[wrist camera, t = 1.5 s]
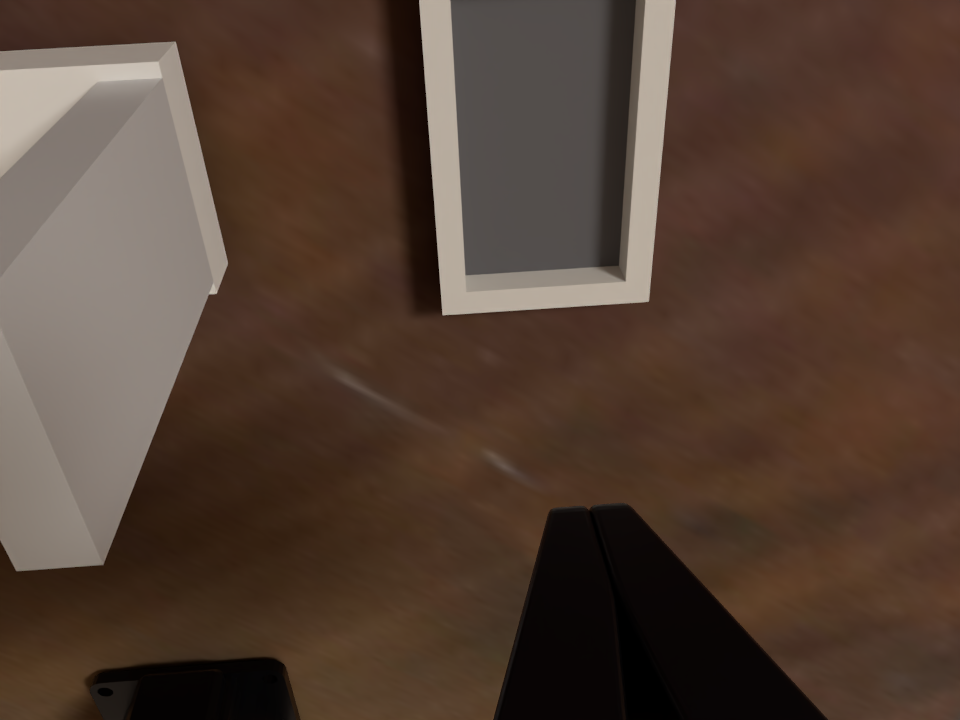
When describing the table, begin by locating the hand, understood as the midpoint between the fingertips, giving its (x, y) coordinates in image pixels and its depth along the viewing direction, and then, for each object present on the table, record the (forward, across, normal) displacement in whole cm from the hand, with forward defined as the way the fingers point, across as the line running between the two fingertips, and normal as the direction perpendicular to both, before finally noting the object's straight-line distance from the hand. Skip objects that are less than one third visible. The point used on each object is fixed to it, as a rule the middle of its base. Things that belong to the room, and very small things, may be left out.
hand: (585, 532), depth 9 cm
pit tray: (+12, -1, 0) cm, 12 cm away
